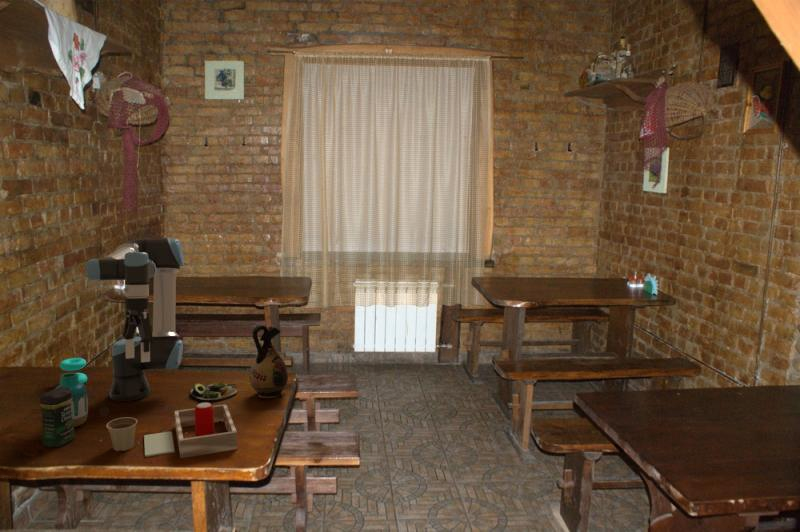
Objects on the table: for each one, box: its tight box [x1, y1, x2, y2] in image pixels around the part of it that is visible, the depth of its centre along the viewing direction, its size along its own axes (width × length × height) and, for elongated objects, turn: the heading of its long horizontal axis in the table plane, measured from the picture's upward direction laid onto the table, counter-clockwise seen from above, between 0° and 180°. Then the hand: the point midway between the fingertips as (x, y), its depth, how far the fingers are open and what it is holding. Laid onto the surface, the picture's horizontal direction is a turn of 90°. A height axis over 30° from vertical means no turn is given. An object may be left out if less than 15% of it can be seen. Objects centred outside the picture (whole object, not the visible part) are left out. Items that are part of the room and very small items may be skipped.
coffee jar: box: [39, 387, 76, 448], centre depth 208 cm, size 10×8×19 cm
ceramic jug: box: [249, 324, 289, 399], centre depth 252 cm, size 17×15×30 cm
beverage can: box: [194, 402, 215, 437], centre depth 214 cm, size 6×6×12 cm
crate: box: [174, 403, 238, 459], centre depth 214 cm, size 26×18×6 cm
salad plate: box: [189, 382, 238, 403], centre depth 256 cm, size 19×18×5 cm
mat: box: [143, 431, 176, 458], centre depth 209 cm, size 16×9×1 cm, turn 23°
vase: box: [55, 372, 89, 428], centre depth 221 cm, size 11×11×19 cm
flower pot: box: [105, 416, 138, 452], centre depth 206 cm, size 9×9×9 cm
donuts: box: [59, 357, 88, 384], centre depth 264 cm, size 10×10×10 cm
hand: (137, 360), depth 210 cm, fingers open, 13 cm apart
